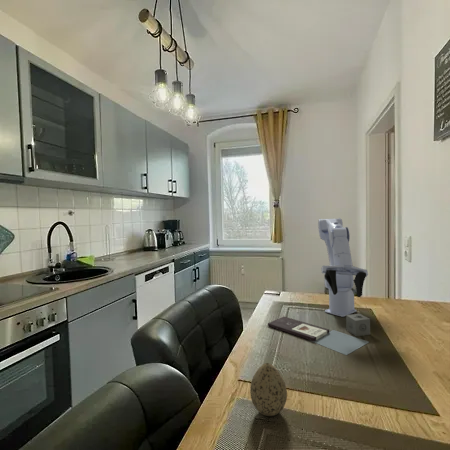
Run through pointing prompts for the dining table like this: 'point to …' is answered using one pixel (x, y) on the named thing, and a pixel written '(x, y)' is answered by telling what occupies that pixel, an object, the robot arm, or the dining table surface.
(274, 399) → the decorative egg
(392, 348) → the dining table surface
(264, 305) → the dining table surface
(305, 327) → the chocolate bar
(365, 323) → the light grey cube
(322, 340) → the mat
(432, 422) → the dining table surface
